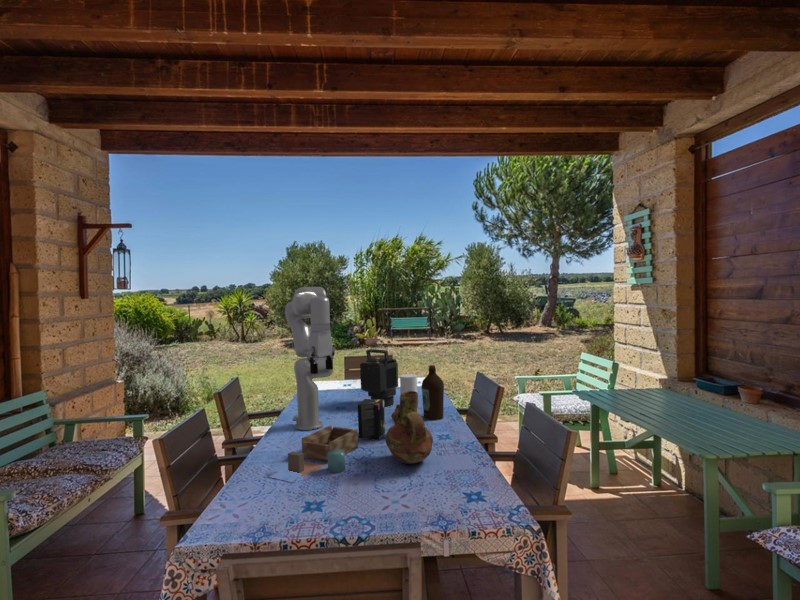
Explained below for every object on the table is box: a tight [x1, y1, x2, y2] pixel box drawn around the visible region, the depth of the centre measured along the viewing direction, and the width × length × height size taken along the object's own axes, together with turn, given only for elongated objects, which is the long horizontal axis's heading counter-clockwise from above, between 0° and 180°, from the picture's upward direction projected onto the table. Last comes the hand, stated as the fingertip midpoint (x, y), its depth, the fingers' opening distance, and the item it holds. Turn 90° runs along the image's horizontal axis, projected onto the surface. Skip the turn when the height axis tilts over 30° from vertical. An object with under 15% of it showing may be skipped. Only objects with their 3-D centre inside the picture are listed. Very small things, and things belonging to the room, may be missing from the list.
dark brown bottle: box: [421, 364, 445, 421], centre depth 222 cm, size 11×11×25 cm
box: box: [301, 424, 359, 464], centre depth 178 cm, size 18×13×7 cm
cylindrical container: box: [399, 373, 419, 412], centre depth 197 cm, size 7×7×25 cm
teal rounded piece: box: [327, 449, 346, 474], centre depth 161 cm, size 6×6×6 cm
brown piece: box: [287, 451, 324, 477], centre depth 160 cm, size 16×11×7 cm
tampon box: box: [357, 398, 386, 441], centre depth 197 cm, size 11×9×15 cm
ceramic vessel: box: [385, 391, 434, 464], centre depth 167 cm, size 17×26×25 cm, turn 23°
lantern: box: [359, 348, 399, 408], centre depth 249 cm, size 15×18×30 cm
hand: (322, 371), depth 183 cm, fingers open, 9 cm apart
